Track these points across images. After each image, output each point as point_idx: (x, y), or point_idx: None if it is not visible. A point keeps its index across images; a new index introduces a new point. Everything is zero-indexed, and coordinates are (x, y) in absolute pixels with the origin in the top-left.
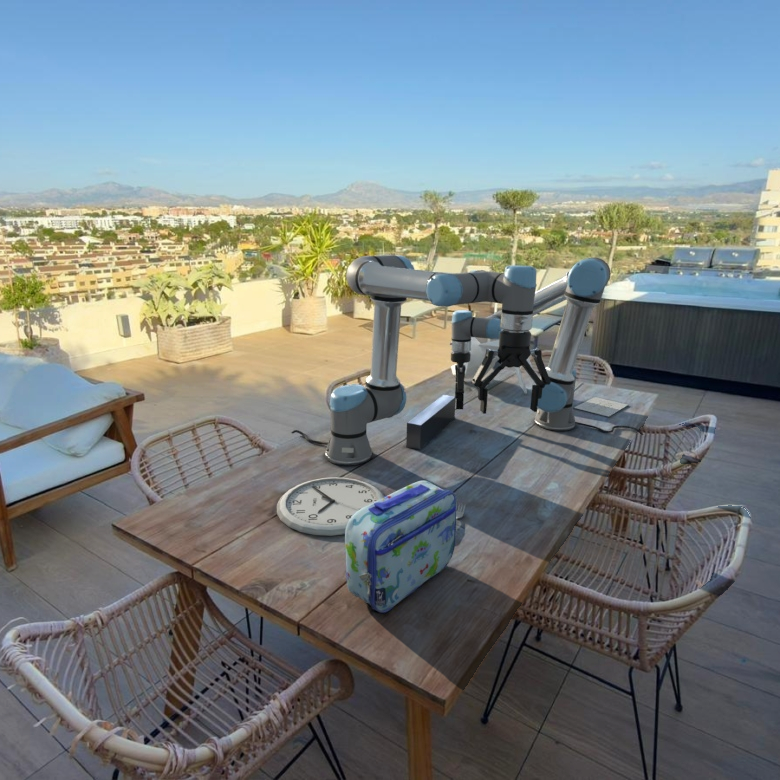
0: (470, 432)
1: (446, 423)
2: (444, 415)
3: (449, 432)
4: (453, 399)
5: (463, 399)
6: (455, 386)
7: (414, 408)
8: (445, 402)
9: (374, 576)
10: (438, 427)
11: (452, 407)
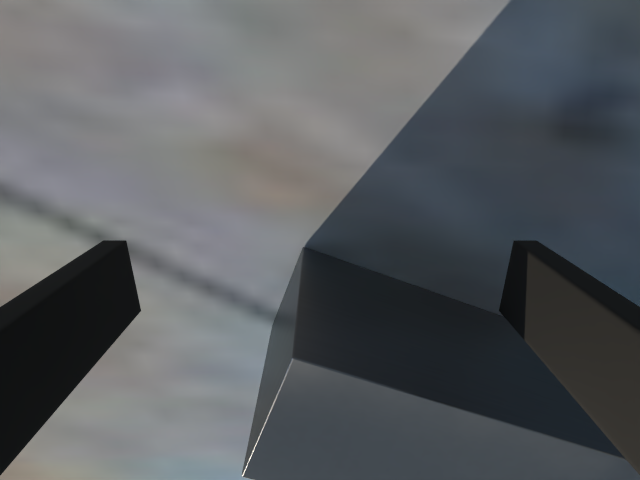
0: (606, 137)
1: (467, 310)
2: None
3: None
4: (374, 374)
5: (637, 306)
6: (17, 430)
7: (169, 472)
8: (530, 459)
9: None
10: None
11: (379, 324)
